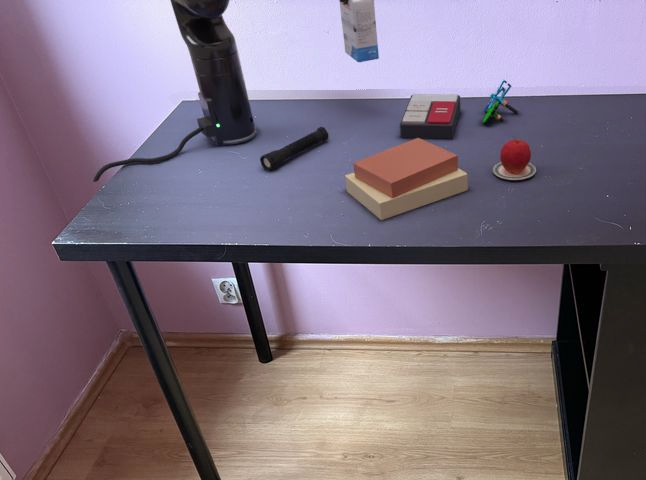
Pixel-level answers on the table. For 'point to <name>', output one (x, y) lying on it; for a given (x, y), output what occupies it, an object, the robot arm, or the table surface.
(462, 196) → the table surface
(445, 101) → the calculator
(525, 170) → the apple
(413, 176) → the book stack
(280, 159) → the flashlight
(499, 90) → the stick construction toy
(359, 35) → the ink box
